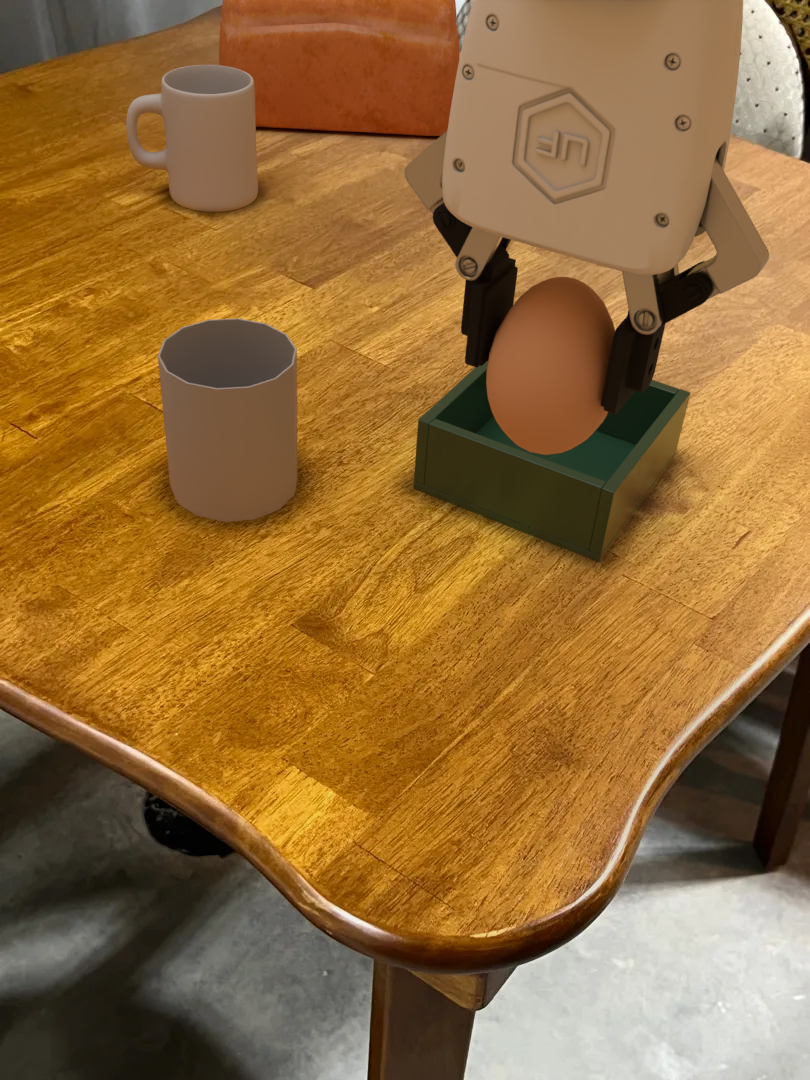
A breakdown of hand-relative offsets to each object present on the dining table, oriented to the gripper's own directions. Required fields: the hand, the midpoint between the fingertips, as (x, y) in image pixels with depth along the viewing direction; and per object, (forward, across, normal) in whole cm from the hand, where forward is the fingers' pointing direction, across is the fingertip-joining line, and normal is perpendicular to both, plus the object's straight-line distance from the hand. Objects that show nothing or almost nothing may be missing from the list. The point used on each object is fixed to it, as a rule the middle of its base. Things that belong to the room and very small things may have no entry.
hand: (552, 371), depth 51 cm
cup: (+21, -24, +7) cm, 32 cm away
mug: (+21, -54, +43) cm, 72 cm away
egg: (+4, 0, 0) cm, 4 cm away
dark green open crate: (+21, -6, +20) cm, 29 cm away
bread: (+21, -54, +70) cm, 91 cm away
